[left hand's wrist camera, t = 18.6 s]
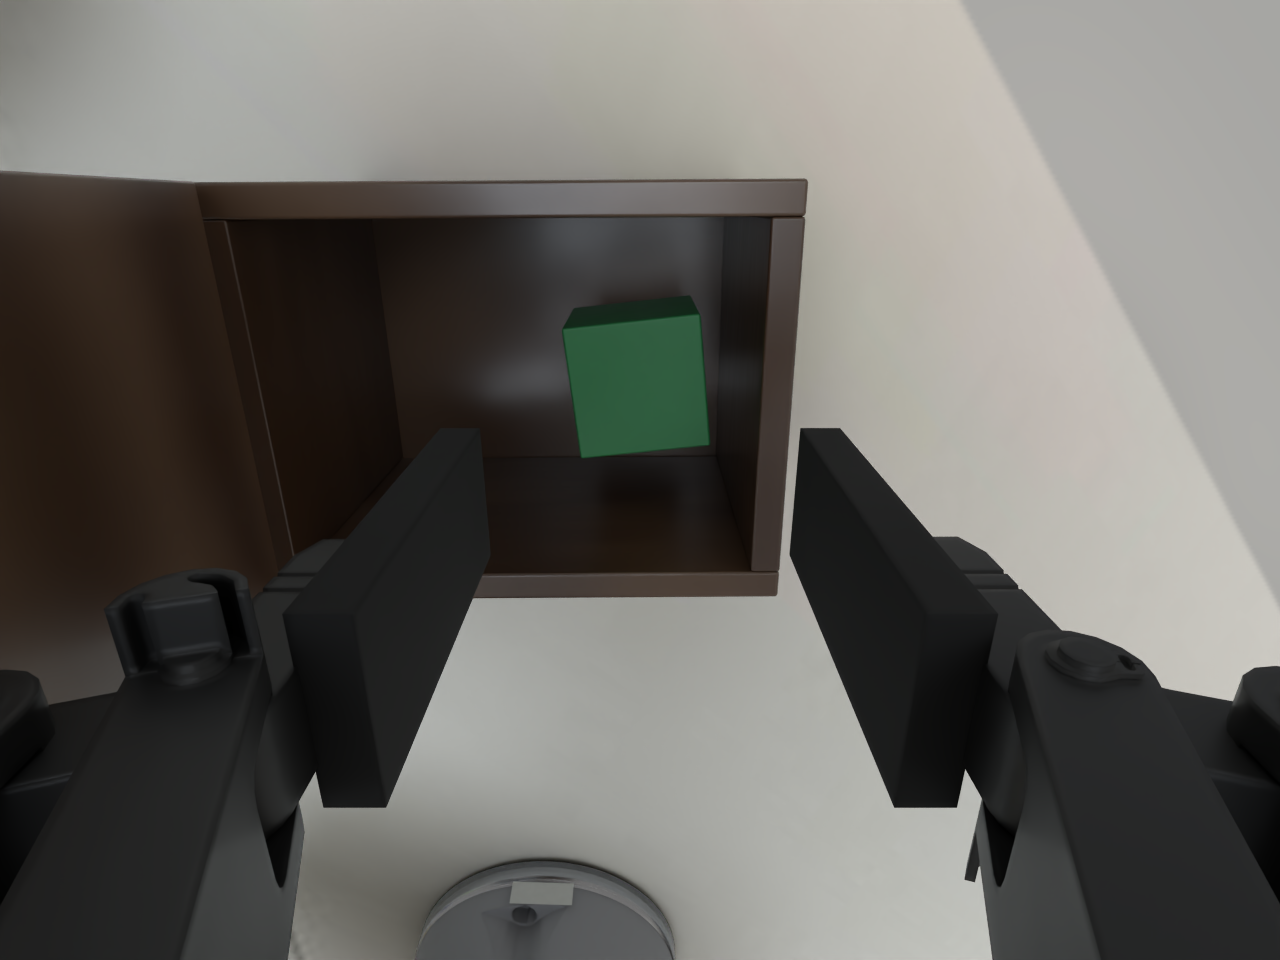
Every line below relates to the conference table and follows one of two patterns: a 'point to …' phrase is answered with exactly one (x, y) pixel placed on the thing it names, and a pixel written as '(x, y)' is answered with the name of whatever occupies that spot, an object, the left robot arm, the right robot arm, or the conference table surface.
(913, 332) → the conference table surface
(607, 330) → the block
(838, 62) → the conference table surface
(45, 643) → the lid
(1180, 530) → the conference table surface
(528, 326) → the chest
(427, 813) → the conference table surface
